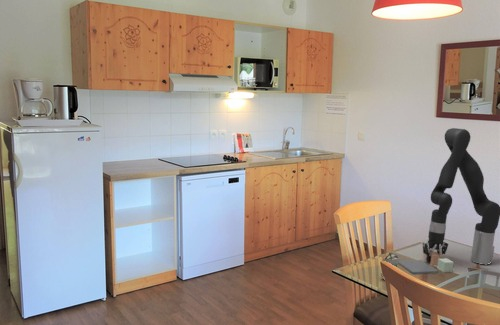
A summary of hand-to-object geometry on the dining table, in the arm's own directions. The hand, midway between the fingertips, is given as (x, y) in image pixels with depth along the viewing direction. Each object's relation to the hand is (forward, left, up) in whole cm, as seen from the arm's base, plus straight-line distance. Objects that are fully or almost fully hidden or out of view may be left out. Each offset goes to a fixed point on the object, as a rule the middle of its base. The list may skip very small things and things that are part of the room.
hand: (433, 261), depth 225 cm
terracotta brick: (0, 0, 0) cm, 0 cm away
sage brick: (0, +9, -1) cm, 9 cm away
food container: (+33, +14, -1) cm, 36 cm away
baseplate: (+13, +5, 0) cm, 14 cm away
